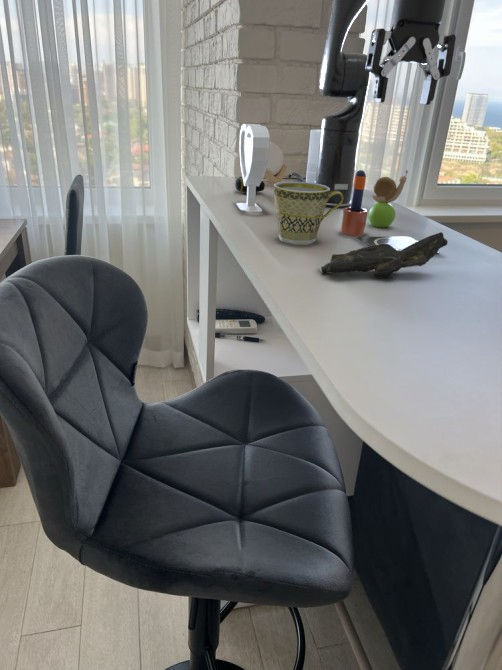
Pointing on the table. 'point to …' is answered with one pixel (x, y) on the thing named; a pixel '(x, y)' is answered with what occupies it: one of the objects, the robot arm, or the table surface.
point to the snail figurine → (385, 201)
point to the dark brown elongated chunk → (386, 257)
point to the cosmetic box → (313, 156)
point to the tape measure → (243, 189)
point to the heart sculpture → (253, 161)
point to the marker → (358, 191)
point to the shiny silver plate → (390, 241)
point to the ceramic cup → (301, 210)
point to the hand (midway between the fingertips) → (402, 103)
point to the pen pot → (353, 222)
